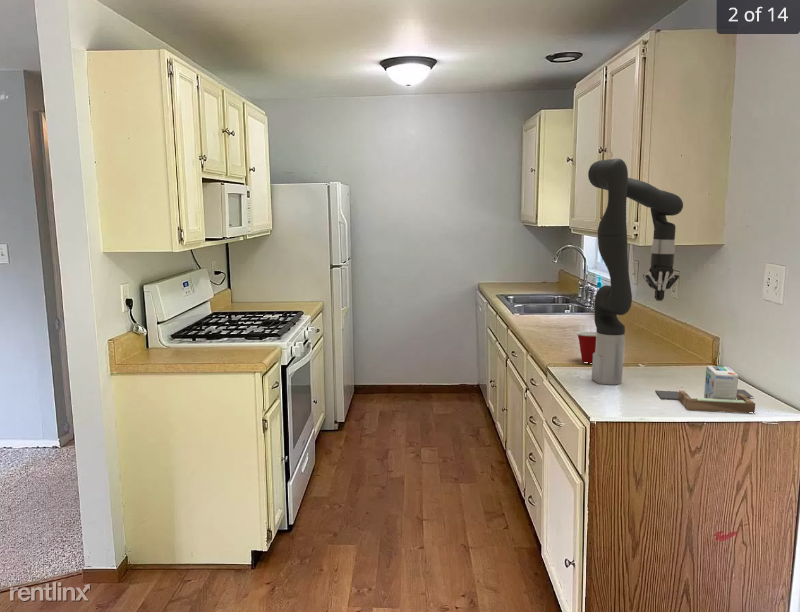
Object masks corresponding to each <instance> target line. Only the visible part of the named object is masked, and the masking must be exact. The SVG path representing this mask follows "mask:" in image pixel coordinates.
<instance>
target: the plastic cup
mask: <svg viewBox="0 0 800 612" xmlns="http://www.w3.org/2000/svg"><path fill="white" fill-rule="evenodd" d="M576 335H577V338H578V342H579V350H580V357H581V362H582V361H583V362H588V363H592V362H593V353H595V349H596V331H578V332H576ZM583 362H582V363H583Z"/></svg>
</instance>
